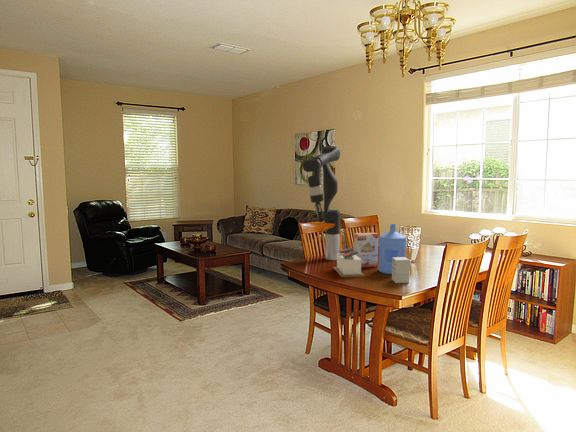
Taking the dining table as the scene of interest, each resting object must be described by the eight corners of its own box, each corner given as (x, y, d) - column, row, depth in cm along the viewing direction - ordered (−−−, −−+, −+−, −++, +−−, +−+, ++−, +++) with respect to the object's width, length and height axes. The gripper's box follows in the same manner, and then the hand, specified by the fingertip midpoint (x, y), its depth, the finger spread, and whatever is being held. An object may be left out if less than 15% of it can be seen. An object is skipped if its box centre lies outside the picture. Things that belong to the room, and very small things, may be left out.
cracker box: (357, 268, 256) (357, 234, 254) (353, 266, 262) (353, 233, 259) (378, 266, 260) (378, 233, 257) (373, 264, 265) (374, 232, 263)
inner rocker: (339, 254, 252) (338, 250, 251) (352, 251, 252) (351, 247, 252) (341, 255, 248) (340, 251, 247) (354, 252, 248) (353, 248, 248)
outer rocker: (344, 258, 241) (342, 254, 240) (357, 253, 241) (355, 250, 241) (345, 260, 237) (344, 256, 236) (358, 255, 237) (357, 251, 237)
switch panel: (334, 268, 255) (334, 250, 254) (355, 268, 257) (355, 250, 255) (341, 277, 235) (341, 257, 233) (364, 276, 236) (364, 257, 235)
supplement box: (404, 279, 230) (405, 256, 228) (409, 283, 222) (409, 259, 221) (391, 279, 229) (392, 256, 228) (395, 283, 222) (395, 259, 221)
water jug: (373, 269, 252) (374, 223, 249) (395, 267, 258) (396, 222, 255) (388, 275, 238) (389, 226, 235) (411, 273, 243) (412, 225, 240)
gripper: (324, 194, 238) (328, 223, 242) (320, 190, 251) (325, 218, 255) (311, 196, 238) (315, 225, 242) (308, 192, 251) (313, 220, 255)
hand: (320, 221), depth 248 cm, fingers closed
